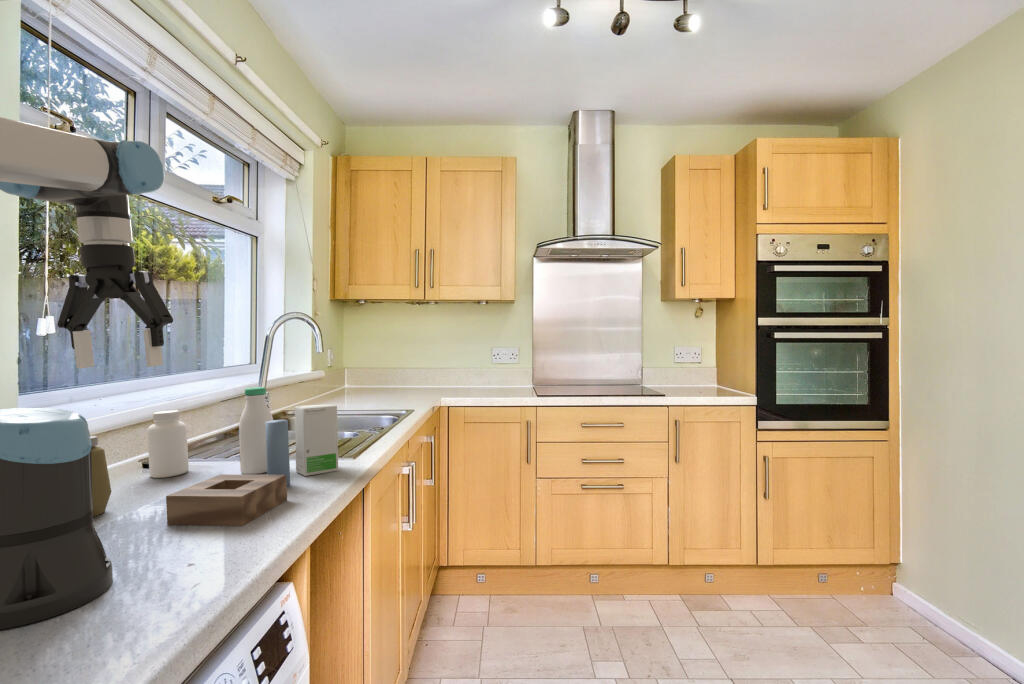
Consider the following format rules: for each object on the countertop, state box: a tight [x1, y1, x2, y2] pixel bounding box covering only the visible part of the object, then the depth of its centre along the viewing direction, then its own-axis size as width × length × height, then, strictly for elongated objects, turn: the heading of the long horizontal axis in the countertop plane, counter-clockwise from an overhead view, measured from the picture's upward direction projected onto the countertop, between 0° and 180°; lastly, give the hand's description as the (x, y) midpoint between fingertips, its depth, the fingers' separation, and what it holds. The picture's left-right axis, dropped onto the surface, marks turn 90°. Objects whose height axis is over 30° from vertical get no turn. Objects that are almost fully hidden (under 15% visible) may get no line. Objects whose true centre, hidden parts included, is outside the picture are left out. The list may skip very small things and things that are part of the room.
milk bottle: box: [238, 386, 274, 475], centre depth 129 cm, size 8×8×20 cm
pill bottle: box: [146, 409, 189, 479], centre depth 129 cm, size 8×8×15 cm
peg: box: [265, 419, 291, 489], centre depth 115 cm, size 4×4×14 cm
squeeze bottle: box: [88, 428, 112, 517], centre depth 100 cm, size 8×8×18 cm
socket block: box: [165, 473, 288, 527], centre depth 99 cm, size 14×14×5 cm
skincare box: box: [294, 403, 339, 477], centre depth 128 cm, size 8×7×16 cm
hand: (120, 366), depth 95 cm, fingers open, 13 cm apart
